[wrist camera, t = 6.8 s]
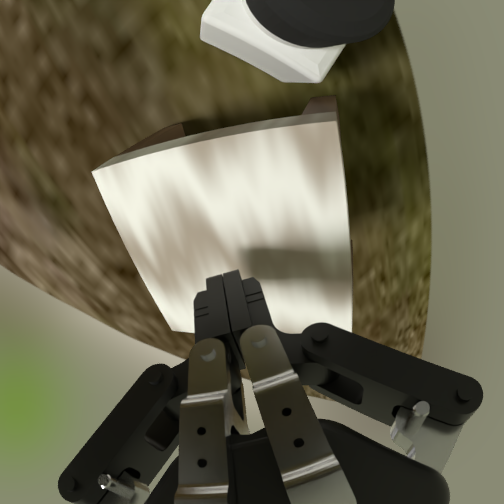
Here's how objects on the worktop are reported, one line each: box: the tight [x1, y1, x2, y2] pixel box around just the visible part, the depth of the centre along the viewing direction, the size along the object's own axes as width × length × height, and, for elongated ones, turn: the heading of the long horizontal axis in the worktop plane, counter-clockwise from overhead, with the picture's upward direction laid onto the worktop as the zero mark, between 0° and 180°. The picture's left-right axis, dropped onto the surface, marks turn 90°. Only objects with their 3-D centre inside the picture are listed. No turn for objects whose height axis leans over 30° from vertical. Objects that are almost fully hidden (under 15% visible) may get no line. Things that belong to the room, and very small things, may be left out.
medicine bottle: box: [200, 0, 395, 83], centre depth 12 cm, size 7×7×12 cm
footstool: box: [92, 95, 353, 334], centre depth 18 cm, size 12×8×12 cm
